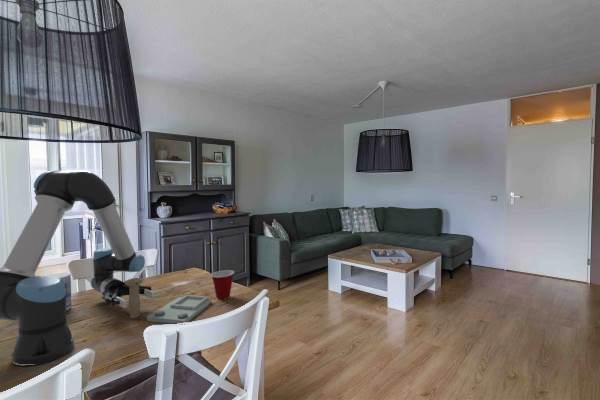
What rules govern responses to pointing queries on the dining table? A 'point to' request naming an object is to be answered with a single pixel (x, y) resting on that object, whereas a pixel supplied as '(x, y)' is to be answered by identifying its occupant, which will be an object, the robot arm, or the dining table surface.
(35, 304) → the robot arm
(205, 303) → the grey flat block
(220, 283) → the plastic cup
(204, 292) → the dining table surface
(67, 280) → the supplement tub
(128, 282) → the handle
